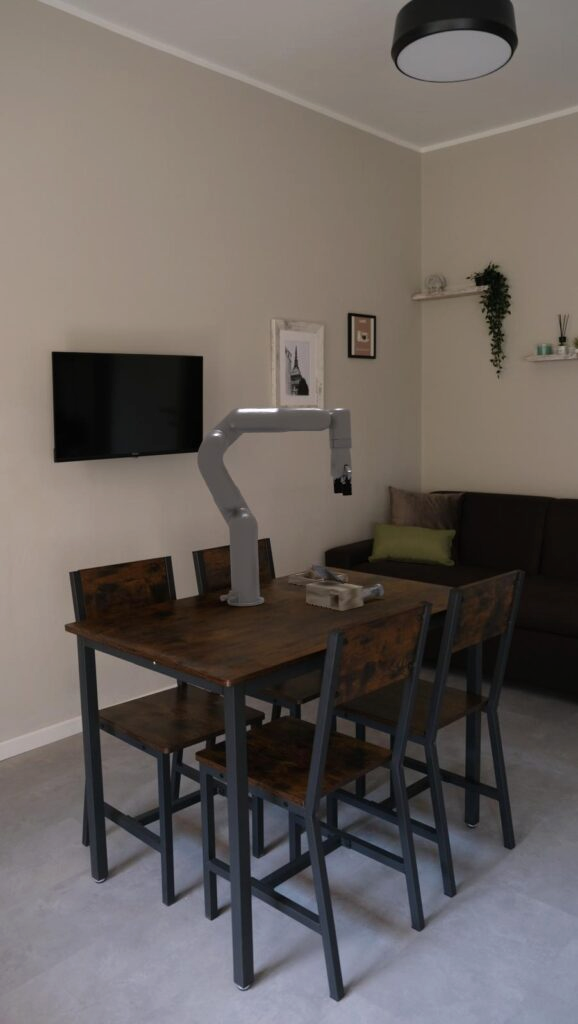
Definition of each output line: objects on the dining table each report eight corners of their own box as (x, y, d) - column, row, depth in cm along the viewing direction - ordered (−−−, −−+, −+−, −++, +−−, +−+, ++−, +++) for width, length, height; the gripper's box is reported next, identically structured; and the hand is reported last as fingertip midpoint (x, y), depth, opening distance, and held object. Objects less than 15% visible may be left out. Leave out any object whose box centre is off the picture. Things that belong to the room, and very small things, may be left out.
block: (342, 611, 269) (341, 587, 268) (306, 603, 282) (305, 581, 281) (363, 605, 276) (363, 583, 275) (327, 598, 288) (327, 576, 287)
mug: (330, 586, 311) (315, 563, 310) (310, 595, 316) (296, 573, 315) (337, 577, 317) (323, 555, 316) (318, 586, 322) (304, 565, 321)
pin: (353, 604, 274) (352, 591, 274) (343, 602, 277) (343, 589, 277) (384, 597, 284) (383, 584, 284) (374, 595, 287) (374, 582, 287)
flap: (325, 568, 275) (327, 566, 276) (311, 566, 281) (312, 564, 281) (341, 583, 281) (342, 581, 281) (326, 580, 286) (327, 578, 286)
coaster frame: (316, 588, 305) (316, 580, 305) (288, 583, 316) (288, 575, 316) (347, 582, 316) (347, 574, 315) (319, 577, 327) (319, 569, 327)
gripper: (322, 444, 291) (325, 493, 293) (337, 445, 274) (340, 497, 276) (343, 443, 293) (345, 491, 295) (359, 444, 276) (361, 495, 278)
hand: (342, 494), depth 285 cm, fingers open, 9 cm apart
